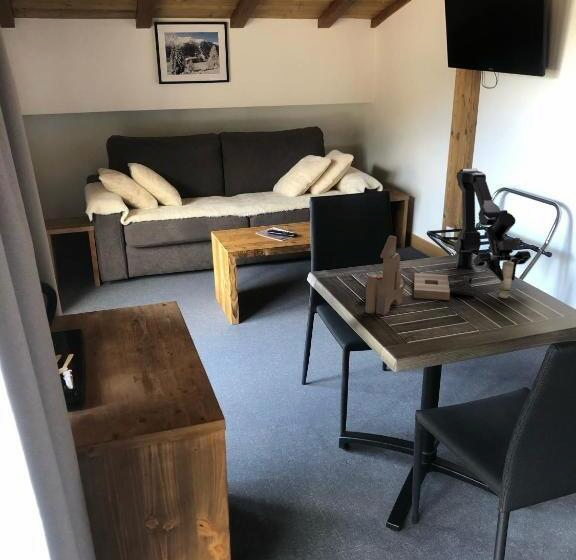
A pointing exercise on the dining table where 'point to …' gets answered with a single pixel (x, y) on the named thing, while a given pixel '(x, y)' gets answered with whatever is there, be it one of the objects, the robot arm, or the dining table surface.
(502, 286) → the cream ridged cylinder
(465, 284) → the hairbrush
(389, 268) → the wooden toy
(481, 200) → the robot arm
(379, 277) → the tin
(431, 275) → the brown box
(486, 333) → the dining table surface
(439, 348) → the dining table surface
